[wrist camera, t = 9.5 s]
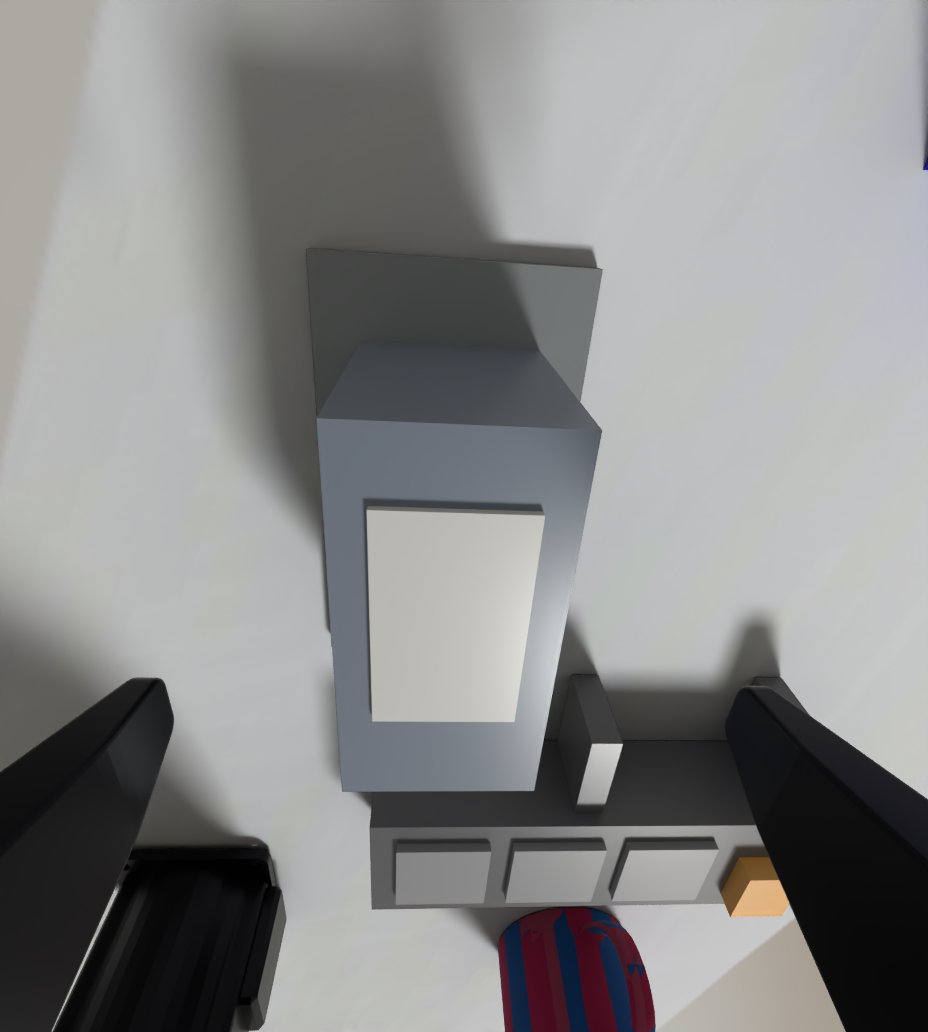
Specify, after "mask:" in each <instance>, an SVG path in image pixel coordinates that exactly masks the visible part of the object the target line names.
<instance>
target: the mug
mask: <svg viewBox="0 0 928 1032" xmlns="http://www.w3.org/2000/svg"><path fill="white" fill-rule="evenodd" d="M498 954H499V966H500V977H501V989H502V1001H503V1012H504V1024H505V1032H655V1027H656V1025H655V1011H654V1005H653V999H652V993H651V989H650V984H649V980H648V977H647V974H646V970H645V967H644V964H643V962H642V959H641V956H640V954H639V951H638V949H637V947H636V945H635V943H634V941H633V939H632V937H631V936H630V935H629V933H628V932H627V931H626V930H625V929H624V928H623V927H622V926H621V925H620V924H619V923H618V921H617V920H615V919H614V918H613V917H611V916H610V915H608V914H606V913H604V912H601V911H598V910H594V909H589V908H581V907H562V908H554V909H548V910H544V911H540V912H537V913H534V914H531V915H528V916H526V917H524V918H522V919H520V920H518V921H516V922H515V923H513V924H512V925H511V926H510V927H508V928H507V929H506V930H505V932H504V933H503V934H502V936H501V938H500V940H499V943H498Z"/></svg>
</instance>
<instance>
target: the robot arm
mask: <svg viewBox="0 0 928 1032" xmlns="http://www.w3.org/2000/svg"><path fill="white" fill-rule="evenodd" d="M173 725H174V716H173V711H172V708H171V704H170V700H169V696H168V693H167V689H166V685H165V683H164V681H163V680H162V679H160V678H132V679H130V680H128V681H127V682H125V683H124V684H122V685H121V686H120V687H118V688H117V689H115V690H114V691H113V692H111V693H110V694H108V695H107V696H106V697H104V698H103V699H102V700H100V701H99V702H97V703H96V704H95V705H93V706H92V707H90V708H89V709H88V710H86V711H85V712H83V713H82V714H81V715H79V716H78V717H76V718H75V719H74V720H72V721H71V722H69V723H68V724H67V725H65V726H64V727H63V728H61V729H60V730H58V731H57V732H56V733H54V734H53V735H51V736H50V737H49V738H47V739H46V740H44V741H43V742H42V743H40V744H39V745H37V746H36V747H35V748H33V749H32V750H30V751H29V752H28V753H26V754H25V755H24V756H22V757H21V758H19V759H18V760H17V761H15V762H14V763H12V764H11V765H10V766H8V767H7V768H5V769H4V770H3V771H1V772H0V1032H51V1031H52V1029H53V1027H54V1024H55V1022H56V1020H57V1018H58V1015H59V1013H60V1011H61V1009H62V1006H63V1004H64V1002H65V1000H66V997H67V995H68V993H69V991H70V988H71V986H72V984H73V982H74V979H75V977H76V975H77V973H78V970H79V968H80V966H81V964H82V961H83V959H84V957H85V954H86V952H87V950H88V948H89V945H90V943H91V941H92V939H93V936H94V934H95V932H96V930H97V927H98V925H99V923H100V921H101V918H102V916H103V914H104V912H105V909H106V907H107V905H108V903H109V900H110V898H111V896H112V894H113V891H114V889H115V887H116V885H117V882H118V884H119V886H120V889H119V891H118V893H117V895H116V897H115V899H114V901H113V904H112V906H111V908H110V910H109V912H108V914H107V916H106V919H105V921H104V923H103V925H102V927H101V929H100V931H99V934H98V936H97V938H96V940H95V942H94V944H93V946H92V949H91V951H90V953H89V955H88V957H87V959H86V961H85V963H84V966H83V968H82V970H81V972H80V974H79V976H78V978H77V981H76V983H75V985H74V987H73V989H72V991H71V993H70V996H69V998H68V1000H67V1002H66V1004H65V1006H64V1008H63V1011H62V1013H61V1015H60V1017H59V1019H58V1021H57V1023H56V1025H55V1028H54V1030H53V1032H249V1031H252V1030H259V1029H260V1028H261V1027H262V1025H263V1024H264V1023H265V1018H266V1014H267V1009H268V1004H269V999H270V995H271V990H272V985H273V980H274V976H275V971H276V966H277V961H278V957H279V952H280V947H281V942H282V938H283V933H284V928H285V923H286V913H285V907H284V901H283V895H282V891H281V889H280V888H279V886H276V883H275V877H274V871H273V866H272V860H271V855H270V853H268V852H267V851H265V850H261V849H223V850H132V848H133V846H134V843H135V841H136V839H137V836H138V834H139V831H140V828H141V825H142V822H143V820H144V817H145V814H146V811H147V808H148V805H149V801H150V798H151V795H152V792H153V789H154V786H155V783H156V780H157V777H158V774H159V771H160V768H161V765H162V762H163V759H164V755H165V752H166V749H167V746H168V743H169V740H170V737H171V734H172V731H173ZM725 733H726V737H727V740H728V743H729V746H730V749H731V752H732V755H733V758H734V761H735V764H736V768H737V771H738V774H739V777H740V780H741V783H742V786H743V789H744V792H745V795H746V798H747V801H748V804H749V807H750V810H751V813H752V816H753V819H754V821H755V824H756V827H757V830H758V832H759V835H760V837H761V839H762V842H763V844H764V847H765V849H766V851H767V854H768V856H769V858H770V860H771V863H772V865H773V867H774V869H775V872H776V874H777V876H778V879H779V881H780V883H781V885H782V888H783V890H784V892H785V894H786V897H787V899H788V901H789V904H790V906H791V908H792V910H793V913H794V915H795V917H796V920H797V922H798V924H799V926H800V929H801V931H802V933H803V935H804V938H805V940H806V942H807V945H808V947H809V949H810V951H811V953H812V956H813V958H814V960H815V963H816V965H817V967H818V970H819V972H820V974H821V976H822V978H823V981H824V983H825V985H826V988H827V990H828V992H829V995H830V997H831V999H832V1001H833V1004H834V1006H835V1008H836V1011H837V1013H838V1015H839V1017H840V1020H841V1022H842V1024H843V1026H844V1029H845V1031H846V1032H928V799H927V798H925V797H924V796H922V795H921V794H919V793H918V792H917V791H915V790H914V789H912V788H911V787H910V786H908V785H907V784H905V783H904V782H903V781H901V780H900V779H898V778H897V777H896V776H894V775H893V774H891V773H890V772H888V771H887V770H886V769H884V768H883V767H881V766H880V765H879V764H877V763H876V762H874V761H873V760H872V759H870V758H869V757H867V756H866V755H865V754H863V753H862V752H860V751H859V750H857V749H856V748H855V747H853V746H852V745H850V744H849V743H848V742H846V741H845V740H843V739H842V738H841V737H839V736H838V735H836V734H835V733H834V732H832V731H831V730H829V729H828V728H826V727H825V726H824V725H822V724H821V723H819V722H818V721H817V720H815V719H814V718H812V717H811V716H810V715H808V714H807V713H805V712H804V711H802V710H801V709H800V708H798V707H797V706H795V705H794V704H793V703H791V702H790V701H788V700H787V699H786V698H784V697H783V696H781V695H780V694H779V693H777V692H776V691H774V690H773V689H771V688H769V687H766V686H742V687H741V688H740V689H739V690H738V692H737V694H736V696H735V699H734V701H733V704H732V706H731V708H730V711H729V713H728V716H727V718H726V721H725Z"/></svg>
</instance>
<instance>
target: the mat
mask: <svg viewBox="0 0 928 1032" xmlns="http://www.w3.org/2000/svg"><path fill="white" fill-rule="evenodd" d="M306 257H307V273H308V288H309V304H310V319H311V335H312V351H313V366H314V382H315V397H316V413H317V416H318V415H319V413H320V411H321V409H322V408H323V406H324V404H325V403H326V401H327V399H328V397H329V396H330V394H331V392H332V390H333V389H334V387H335V385H336V384H337V382H338V380H339V378H340V377H341V375H342V373H343V372H344V370H345V368H346V366H347V365H348V363H349V361H350V360H351V358H352V356H353V354H354V353H355V351H356V349H357V348H358V346H359V344H360V342H361V341H378V342H397V343H416V344H435V345H454V346H473V347H492V348H511V349H530V350H540V351H541V353H542V354H543V355H544V356H545V358H546V359H547V360H548V362H549V363H550V364H551V365H552V367H553V368H554V369H555V371H556V372H557V373H558V374H559V376H560V377H561V378H562V380H563V381H564V382H565V383H566V385H567V386H568V387H569V389H570V390H571V391H572V392H573V394H574V395H575V396H576V398H577V399H578V400H579V401H580V400H581V394H582V388H583V382H584V377H585V371H586V365H587V359H588V353H589V347H590V341H591V335H592V329H593V323H594V317H595V312H596V306H597V300H598V294H599V288H600V282H601V276H602V270H603V269H600V268H591V267H577V266H562V265H547V264H533V263H518V262H504V261H489V260H475V259H460V258H445V257H431V256H416V255H402V254H387V253H373V252H358V251H343V250H329V249H314V248H308V249H306ZM323 522H324V521H323ZM324 538H325V536H324ZM325 553H326V550H325ZM326 569H327V565H326ZM327 584H328V579H327ZM328 600H329V594H328ZM329 615H330V608H329ZM330 631H331V622H330ZM331 647H332V637H331Z"/></svg>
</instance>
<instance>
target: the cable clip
mask: <svg viewBox="0 0 928 1032" xmlns="http://www.w3.org/2000/svg"><path fill="white" fill-rule="evenodd" d="M923 170H928V157H927V160H926V163H925V166H924V169H923Z"/></svg>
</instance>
